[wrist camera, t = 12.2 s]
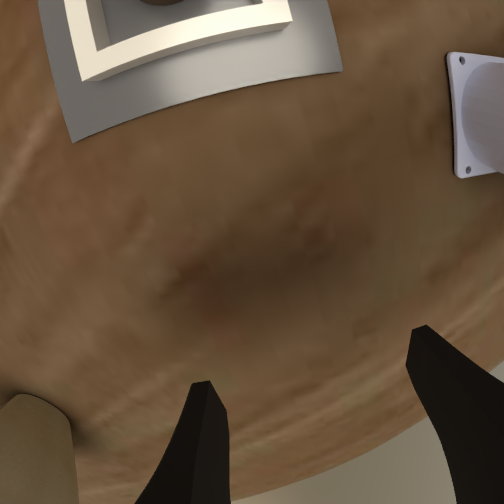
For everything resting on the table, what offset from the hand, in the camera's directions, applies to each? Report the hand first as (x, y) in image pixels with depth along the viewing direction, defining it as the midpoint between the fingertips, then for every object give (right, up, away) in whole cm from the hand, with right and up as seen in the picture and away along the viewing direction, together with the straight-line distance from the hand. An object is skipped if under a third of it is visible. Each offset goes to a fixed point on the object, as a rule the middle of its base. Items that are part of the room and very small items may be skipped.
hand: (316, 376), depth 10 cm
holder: (-6, +18, 0) cm, 19 cm away
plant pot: (-26, -14, +16) cm, 34 cm away
